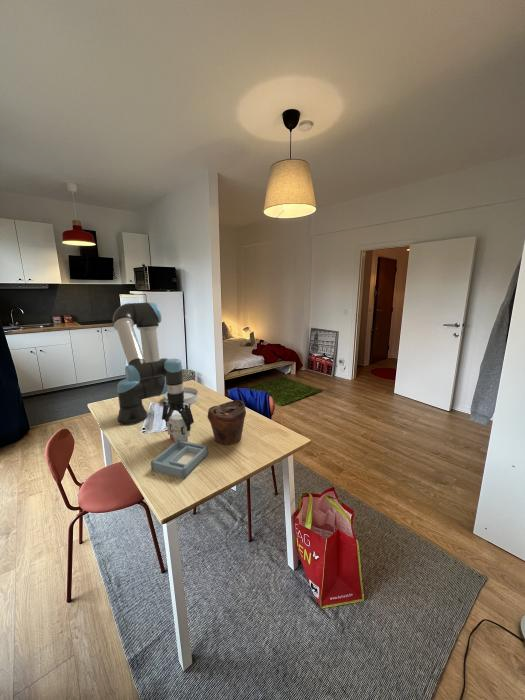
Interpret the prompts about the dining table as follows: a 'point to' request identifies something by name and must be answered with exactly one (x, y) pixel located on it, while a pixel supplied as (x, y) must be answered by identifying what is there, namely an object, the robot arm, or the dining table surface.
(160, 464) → the walled box
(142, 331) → the robot arm
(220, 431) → the brown pot
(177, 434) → the ink box
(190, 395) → the dish
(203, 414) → the dining table surface
